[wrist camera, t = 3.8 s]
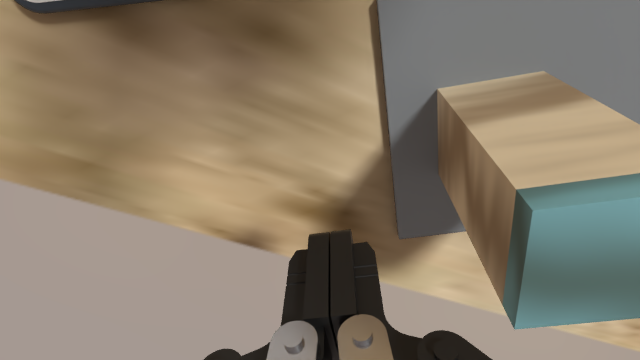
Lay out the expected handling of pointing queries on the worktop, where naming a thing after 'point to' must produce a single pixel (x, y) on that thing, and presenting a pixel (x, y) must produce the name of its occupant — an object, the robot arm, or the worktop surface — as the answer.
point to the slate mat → (490, 75)
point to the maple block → (545, 196)
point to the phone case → (72, 4)
